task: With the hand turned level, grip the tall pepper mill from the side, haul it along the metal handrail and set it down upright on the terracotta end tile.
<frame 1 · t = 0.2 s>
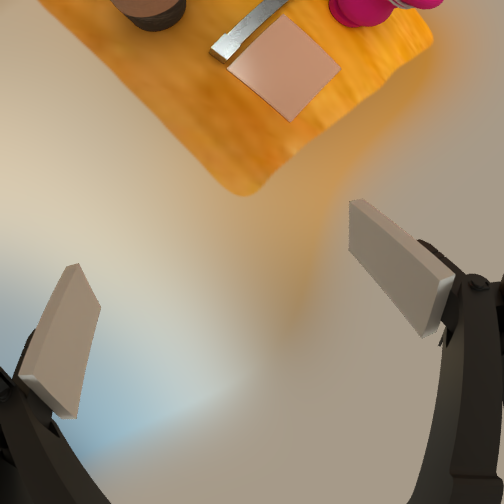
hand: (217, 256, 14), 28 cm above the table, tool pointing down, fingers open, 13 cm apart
travel mug: (158, 8, 27), on the table
pepper mill: (347, 9, 30), on the table
end tile: (286, 66, 34), on the table
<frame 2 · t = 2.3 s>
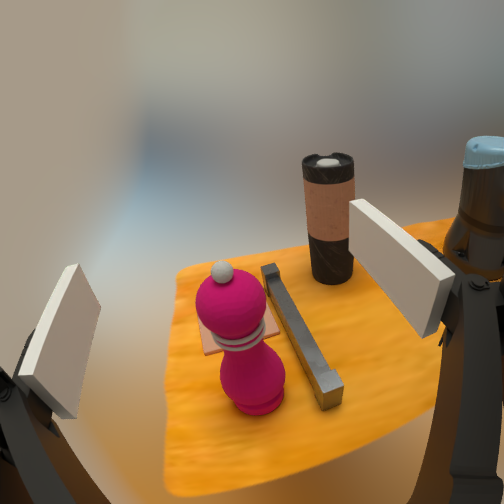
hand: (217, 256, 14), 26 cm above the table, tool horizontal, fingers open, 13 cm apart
travel mug: (332, 272, 51), on the table
handrail: (296, 337, 41), on the table
pepper mill: (258, 394, 34), on the table
end tile: (234, 319, 46), on the table
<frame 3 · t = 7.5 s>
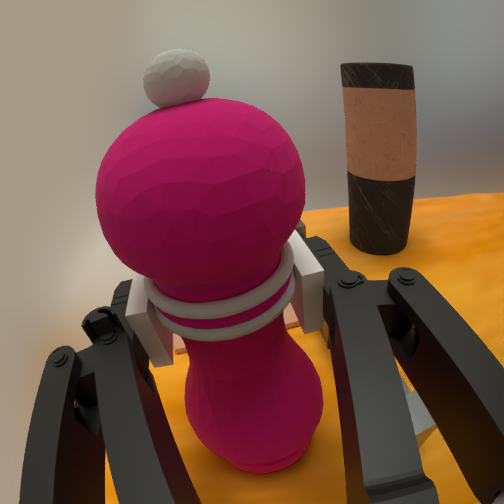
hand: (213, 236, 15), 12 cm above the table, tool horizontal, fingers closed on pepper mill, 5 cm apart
travel mug: (378, 240, 34), on the table
handrail: (333, 329, 23), on the table
pepper mill: (264, 432, 17), on the table, touching gripper
end tile: (231, 299, 29), on the table
when the fingers open (13 cm above the table, at t = 11.8 s): pepper mill stays where it is, resting on end tile.
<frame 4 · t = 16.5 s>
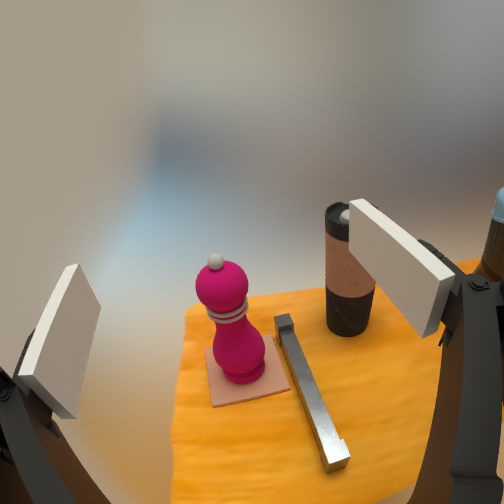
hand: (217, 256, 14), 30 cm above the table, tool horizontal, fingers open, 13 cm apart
travel mug: (347, 322, 48), on the table
handrail: (306, 394, 37), on the table
pepper mill: (244, 368, 43), resting on end tile
end tile: (244, 370, 43), on the table
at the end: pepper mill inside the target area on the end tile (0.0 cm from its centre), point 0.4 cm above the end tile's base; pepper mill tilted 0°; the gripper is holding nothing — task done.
